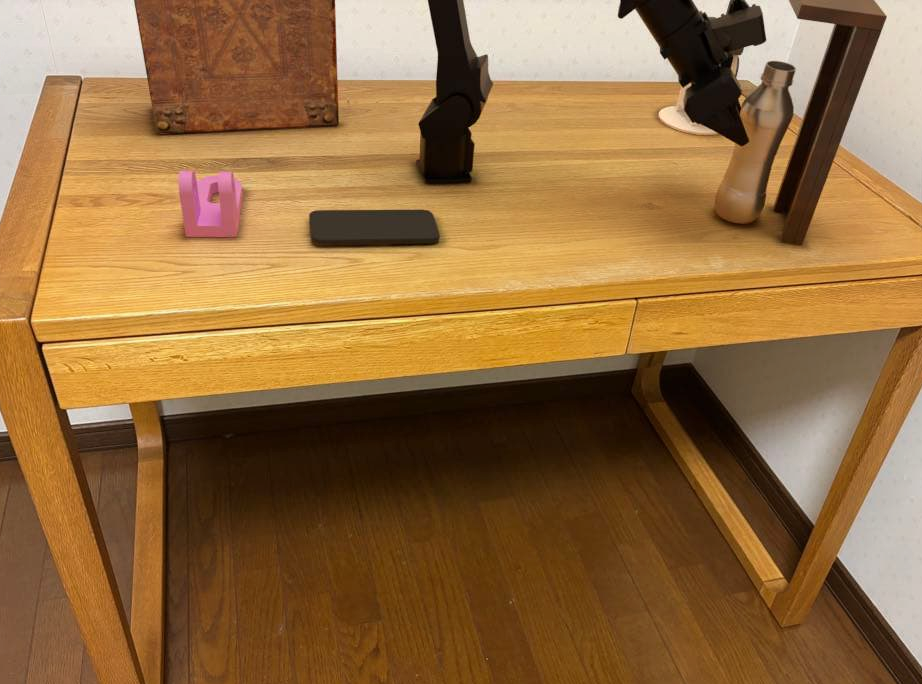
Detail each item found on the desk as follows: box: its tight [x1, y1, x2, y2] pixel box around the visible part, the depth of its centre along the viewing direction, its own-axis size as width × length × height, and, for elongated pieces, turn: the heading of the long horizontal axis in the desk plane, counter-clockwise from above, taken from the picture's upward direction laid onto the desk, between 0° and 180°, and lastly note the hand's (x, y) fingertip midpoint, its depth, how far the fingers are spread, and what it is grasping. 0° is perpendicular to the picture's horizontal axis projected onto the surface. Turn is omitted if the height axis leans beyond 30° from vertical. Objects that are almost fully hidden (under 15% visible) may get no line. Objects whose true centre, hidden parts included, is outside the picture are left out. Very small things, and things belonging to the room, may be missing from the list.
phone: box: [308, 209, 440, 246], centre depth 101 cm, size 7×1×15 cm
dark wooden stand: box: [772, 0, 888, 246], centre depth 104 cm, size 9×10×28 cm
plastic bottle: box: [714, 60, 797, 224], centre depth 107 cm, size 6×7×20 cm
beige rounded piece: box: [658, 16, 745, 136], centre depth 134 cm, size 12×11×15 cm
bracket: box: [177, 170, 244, 238], centre depth 100 cm, size 13×6×7 cm, turn 9°
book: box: [133, 0, 340, 135], centre depth 114 cm, size 25×9×30 cm, turn 110°
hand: (742, 129), depth 106 cm, fingers open, 9 cm apart
